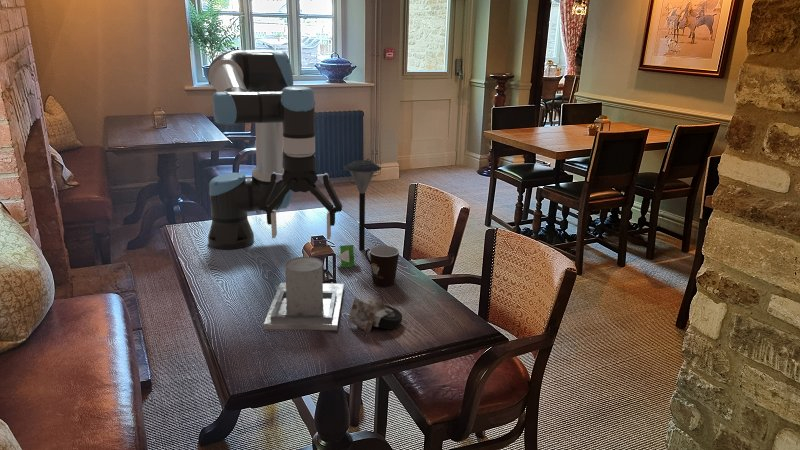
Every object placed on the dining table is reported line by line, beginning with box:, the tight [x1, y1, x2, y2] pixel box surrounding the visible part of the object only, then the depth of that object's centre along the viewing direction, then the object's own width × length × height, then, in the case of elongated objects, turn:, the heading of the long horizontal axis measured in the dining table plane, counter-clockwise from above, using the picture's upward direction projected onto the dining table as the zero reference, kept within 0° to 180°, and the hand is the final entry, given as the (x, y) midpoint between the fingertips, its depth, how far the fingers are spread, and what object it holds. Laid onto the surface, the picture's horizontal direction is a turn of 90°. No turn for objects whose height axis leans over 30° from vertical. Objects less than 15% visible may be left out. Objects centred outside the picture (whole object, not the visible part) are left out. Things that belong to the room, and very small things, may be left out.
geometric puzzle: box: [335, 244, 360, 268], centre depth 179 cm, size 7×7×8 cm
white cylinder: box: [284, 256, 324, 315], centre depth 147 cm, size 10×10×12 cm
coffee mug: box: [364, 245, 400, 288], centre depth 168 cm, size 12×9×10 cm
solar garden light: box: [343, 160, 382, 251], centre depth 188 cm, size 12×12×30 cm
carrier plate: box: [263, 282, 345, 331], centre depth 151 cm, size 24×18×6 cm
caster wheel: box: [348, 297, 403, 333], centre depth 144 cm, size 7×11×10 cm
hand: (301, 237), depth 143 cm, fingers open, 13 cm apart
